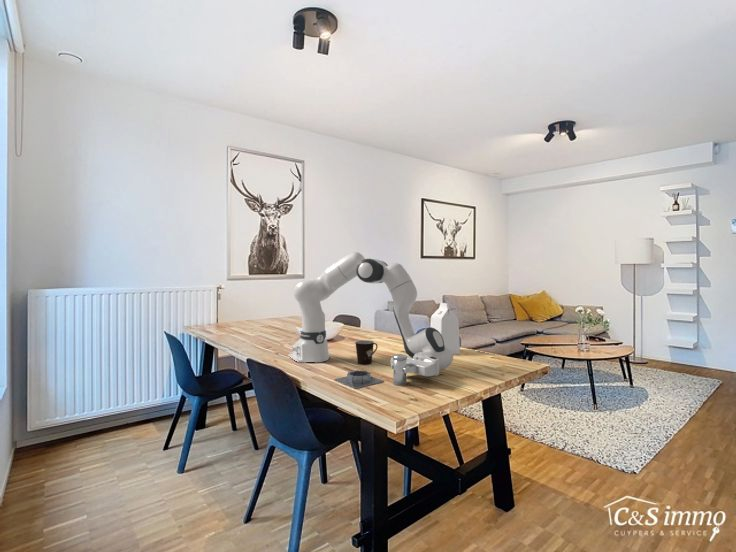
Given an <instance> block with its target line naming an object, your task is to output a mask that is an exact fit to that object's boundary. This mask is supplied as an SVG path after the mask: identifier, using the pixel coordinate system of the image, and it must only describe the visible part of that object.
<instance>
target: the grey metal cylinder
mask: <svg viewBox="0 0 736 552" xmlns="http://www.w3.org/2000/svg"><path fill="white" fill-rule="evenodd" d="M392 357H393V369H392V371H393V373H392V374H393V377H392V378H393V382H392V383H393V385H394V386H398V387H403V386H407V373H404V372H403V368H405V367H406V359H407V357H408V356H407V355H406V354H401V353H397V354H394V355H392Z"/></svg>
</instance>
